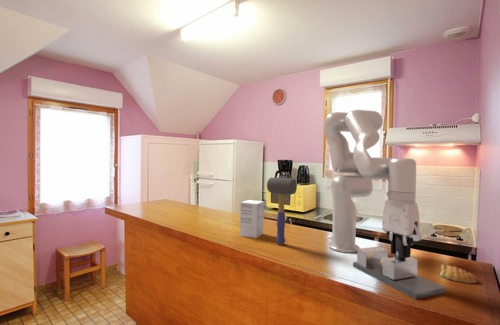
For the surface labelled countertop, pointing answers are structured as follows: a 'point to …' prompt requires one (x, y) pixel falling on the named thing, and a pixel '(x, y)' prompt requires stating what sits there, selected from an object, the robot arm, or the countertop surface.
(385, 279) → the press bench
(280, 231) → the rubber mallet
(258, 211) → the supplement box
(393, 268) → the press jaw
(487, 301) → the countertop surface
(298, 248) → the countertop surface
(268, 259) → the countertop surface
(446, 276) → the pastry
